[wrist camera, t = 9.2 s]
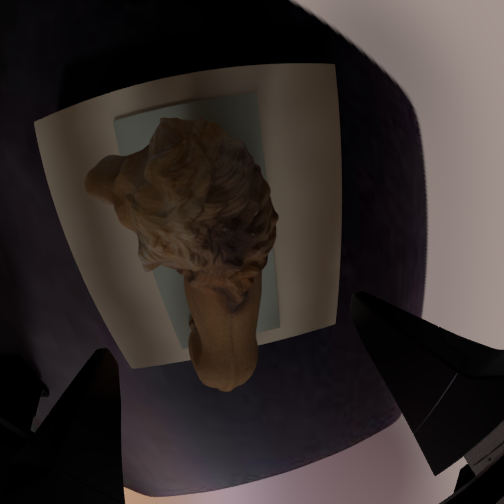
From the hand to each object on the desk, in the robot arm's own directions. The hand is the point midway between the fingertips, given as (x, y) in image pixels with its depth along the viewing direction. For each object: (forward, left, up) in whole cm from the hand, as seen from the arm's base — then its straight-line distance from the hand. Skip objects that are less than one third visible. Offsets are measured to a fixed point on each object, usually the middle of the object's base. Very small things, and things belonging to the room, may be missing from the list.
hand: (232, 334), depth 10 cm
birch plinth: (0, 0, -10) cm, 10 cm away
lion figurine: (-1, 0, -7) cm, 7 cm away
